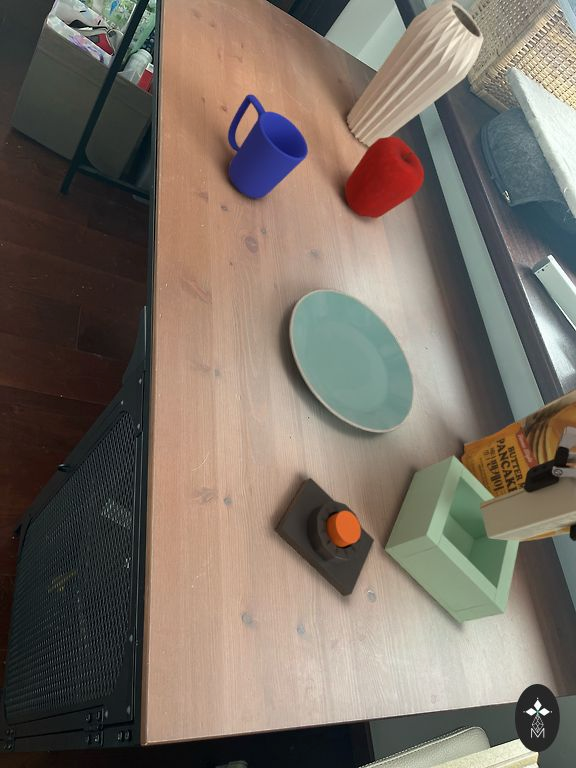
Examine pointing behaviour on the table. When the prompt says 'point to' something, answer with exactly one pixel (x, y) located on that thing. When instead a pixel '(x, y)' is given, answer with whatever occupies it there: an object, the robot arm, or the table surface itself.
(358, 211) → the apple
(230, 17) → the table surface
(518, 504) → the cosmetic box
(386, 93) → the vase
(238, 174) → the mug
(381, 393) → the plate
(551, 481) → the robot arm
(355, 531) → the button
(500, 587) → the mint green storage bin
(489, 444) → the pancake mix bag
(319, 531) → the block
